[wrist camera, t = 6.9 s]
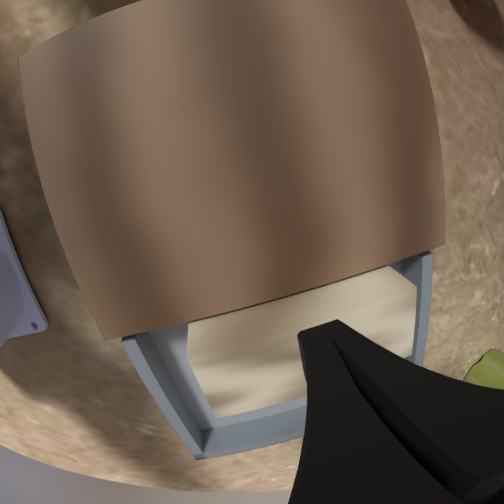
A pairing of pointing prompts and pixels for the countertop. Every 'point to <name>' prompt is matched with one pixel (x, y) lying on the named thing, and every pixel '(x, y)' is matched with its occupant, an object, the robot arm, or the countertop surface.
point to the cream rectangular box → (293, 337)
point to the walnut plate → (232, 151)
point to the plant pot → (488, 371)
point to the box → (252, 422)
